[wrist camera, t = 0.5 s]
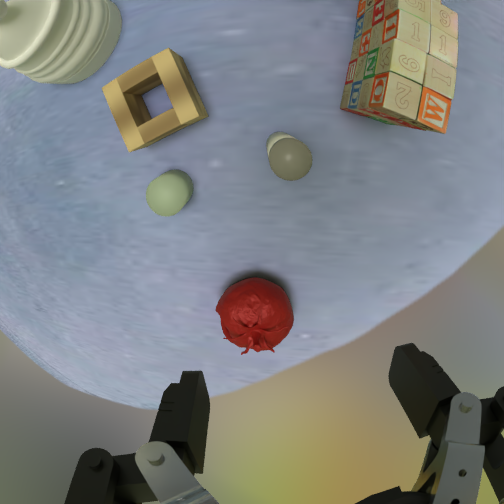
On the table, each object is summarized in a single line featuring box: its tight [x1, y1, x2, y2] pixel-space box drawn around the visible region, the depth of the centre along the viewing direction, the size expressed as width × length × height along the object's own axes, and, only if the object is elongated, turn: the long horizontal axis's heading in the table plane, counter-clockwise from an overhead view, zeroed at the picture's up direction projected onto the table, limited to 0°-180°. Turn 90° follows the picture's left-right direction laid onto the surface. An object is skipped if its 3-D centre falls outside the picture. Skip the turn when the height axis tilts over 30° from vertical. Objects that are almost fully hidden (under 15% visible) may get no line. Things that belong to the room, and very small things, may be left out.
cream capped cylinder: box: [266, 132, 312, 181], centre depth 24 cm, size 3×3×12 cm
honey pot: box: [0, 0, 122, 84], centre depth 15 cm, size 13×13×18 cm
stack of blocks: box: [340, 0, 458, 134], centre depth 18 cm, size 21×6×12 cm, turn 170°
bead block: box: [102, 48, 208, 152], centre depth 25 cm, size 8×8×5 cm
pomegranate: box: [216, 277, 294, 355], centre depth 35 cm, size 10×10×9 cm
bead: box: [146, 170, 193, 216], centre depth 31 cm, size 4×4×4 cm
